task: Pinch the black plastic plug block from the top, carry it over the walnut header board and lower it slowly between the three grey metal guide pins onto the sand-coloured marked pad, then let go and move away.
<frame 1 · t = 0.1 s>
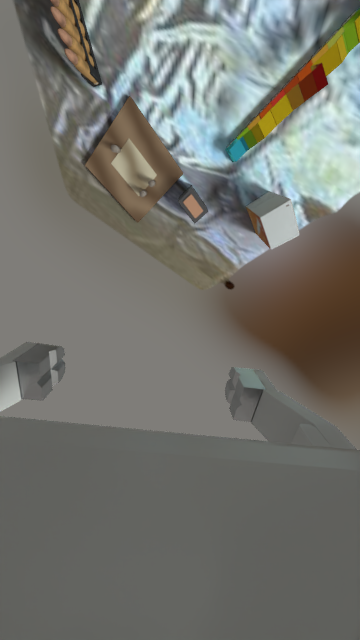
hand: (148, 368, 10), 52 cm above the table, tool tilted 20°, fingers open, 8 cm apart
ammunition clip: (85, 41, 35), on the table
plug block: (192, 201, 50), on the table
small box: (261, 213, 51), on the table
chart: (295, 86, 38), on the table
header board: (135, 169, 46), on the table
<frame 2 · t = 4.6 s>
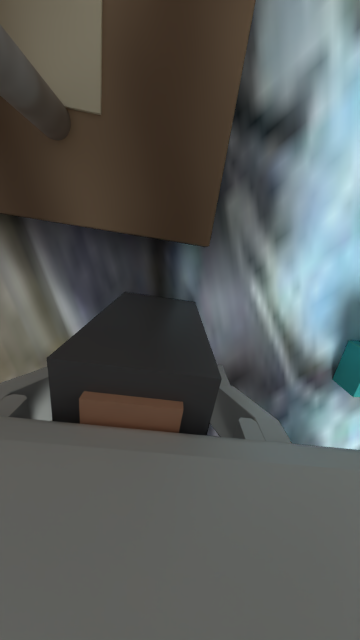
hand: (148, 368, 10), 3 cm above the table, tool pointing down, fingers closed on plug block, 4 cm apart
plug block: (154, 344, 12), on the table, touching gripper
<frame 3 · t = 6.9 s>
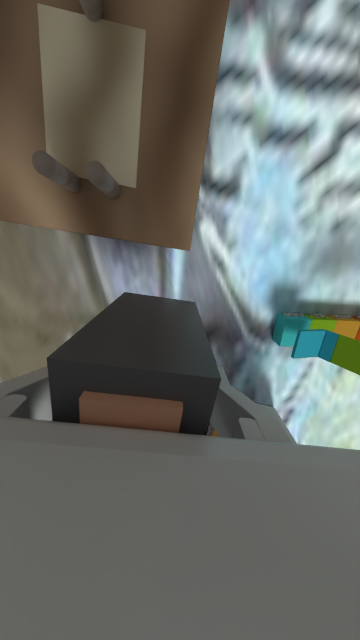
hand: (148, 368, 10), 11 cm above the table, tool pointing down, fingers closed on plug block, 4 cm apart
plug block: (154, 344, 12), point 8 cm above the table, touching gripper
header board: (100, 121, 15), on the table
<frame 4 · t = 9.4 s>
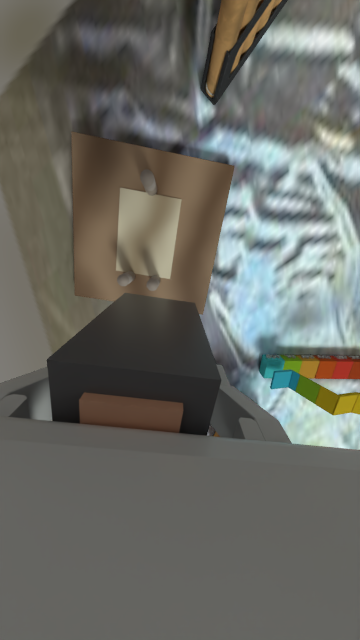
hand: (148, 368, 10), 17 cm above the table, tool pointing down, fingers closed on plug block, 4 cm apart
ammunition clip: (246, 41, 18), on the table
plug block: (154, 344, 12), point 14 cm above the table, touching gripper
chart: (355, 362, 30), on the table
header board: (148, 237, 23), on the table
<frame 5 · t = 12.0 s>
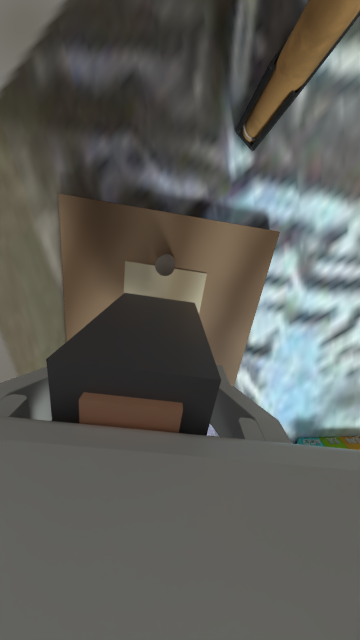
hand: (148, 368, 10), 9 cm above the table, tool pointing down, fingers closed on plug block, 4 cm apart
ammunition clip: (301, 65, 13), on the table
plug block: (154, 344, 12), point 6 cm above the table, touching gripper
header board: (161, 312, 18), on the table
when the fingers open (5 cm above the table, at t = 14.2 s): plug block stays where it is, resting on header board.
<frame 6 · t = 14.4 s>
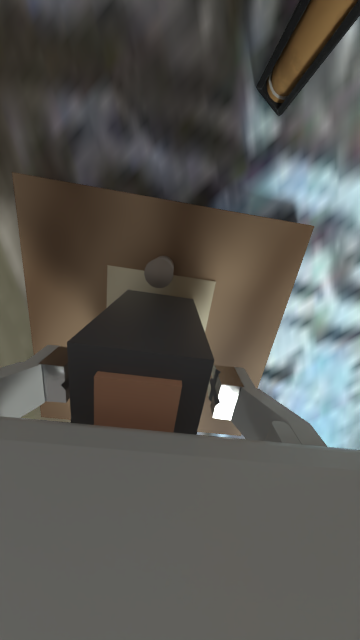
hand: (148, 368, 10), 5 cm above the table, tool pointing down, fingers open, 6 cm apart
plug block: (155, 338, 13), point 2 cm above the table, touching header board
header board: (157, 328, 14), on the table
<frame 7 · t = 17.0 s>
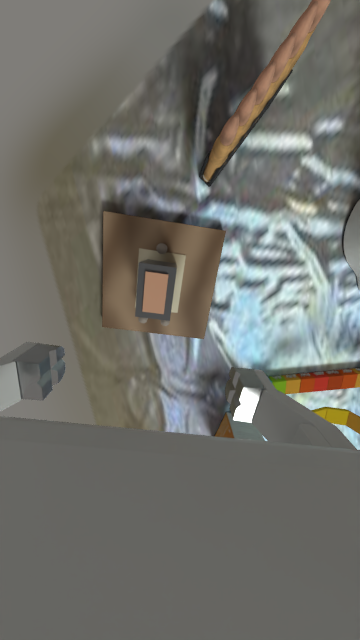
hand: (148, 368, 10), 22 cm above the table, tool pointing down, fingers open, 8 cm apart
ammunition clip: (232, 143, 24), on the table
plug block: (159, 282, 28), point 2 cm above the table, touching header board
small box: (232, 427, 40), on the table
chart: (333, 374, 37), on the table
header board: (160, 280, 29), on the table
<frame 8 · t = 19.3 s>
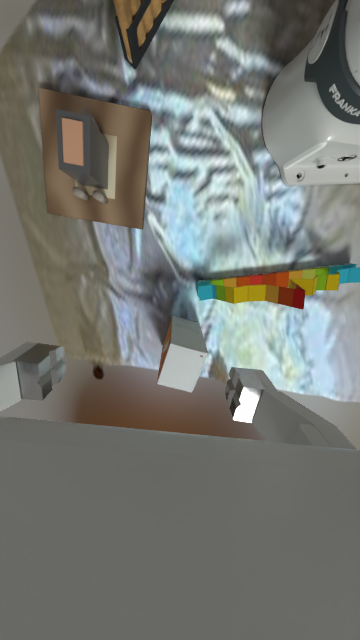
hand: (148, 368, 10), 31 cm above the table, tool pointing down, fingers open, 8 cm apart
ammunition clip: (152, 25, 27), on the table
plug block: (95, 165, 31), point 2 cm above the table, touching header board
small box: (180, 334, 43), on the table
chart: (270, 278, 40), on the table
header board: (99, 169, 32), on the table
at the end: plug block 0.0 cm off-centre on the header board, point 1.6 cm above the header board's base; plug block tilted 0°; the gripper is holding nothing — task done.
